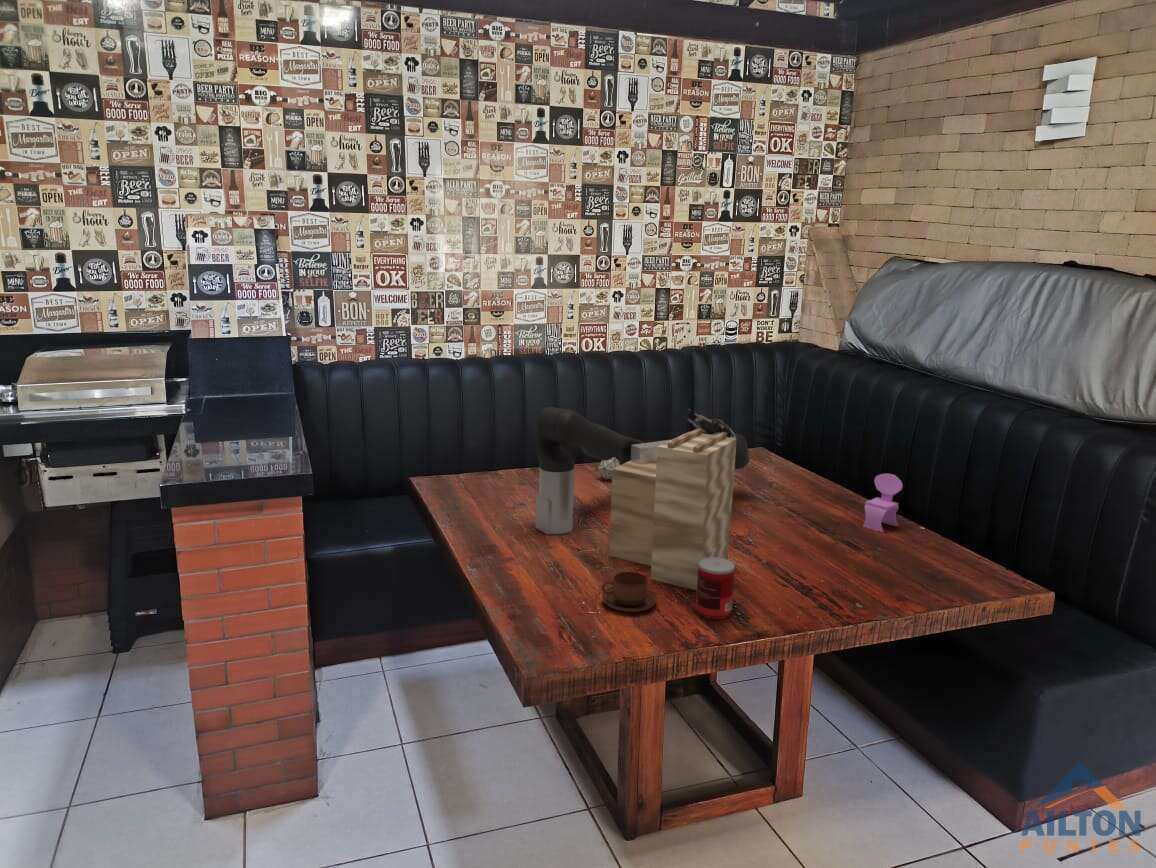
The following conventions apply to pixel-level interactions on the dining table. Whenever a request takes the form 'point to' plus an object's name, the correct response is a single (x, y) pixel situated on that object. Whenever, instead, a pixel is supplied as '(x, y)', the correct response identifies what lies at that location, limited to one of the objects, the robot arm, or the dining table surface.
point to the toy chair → (883, 503)
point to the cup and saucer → (629, 593)
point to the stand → (675, 507)
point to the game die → (607, 468)
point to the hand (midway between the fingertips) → (700, 418)
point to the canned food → (715, 587)
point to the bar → (645, 452)
